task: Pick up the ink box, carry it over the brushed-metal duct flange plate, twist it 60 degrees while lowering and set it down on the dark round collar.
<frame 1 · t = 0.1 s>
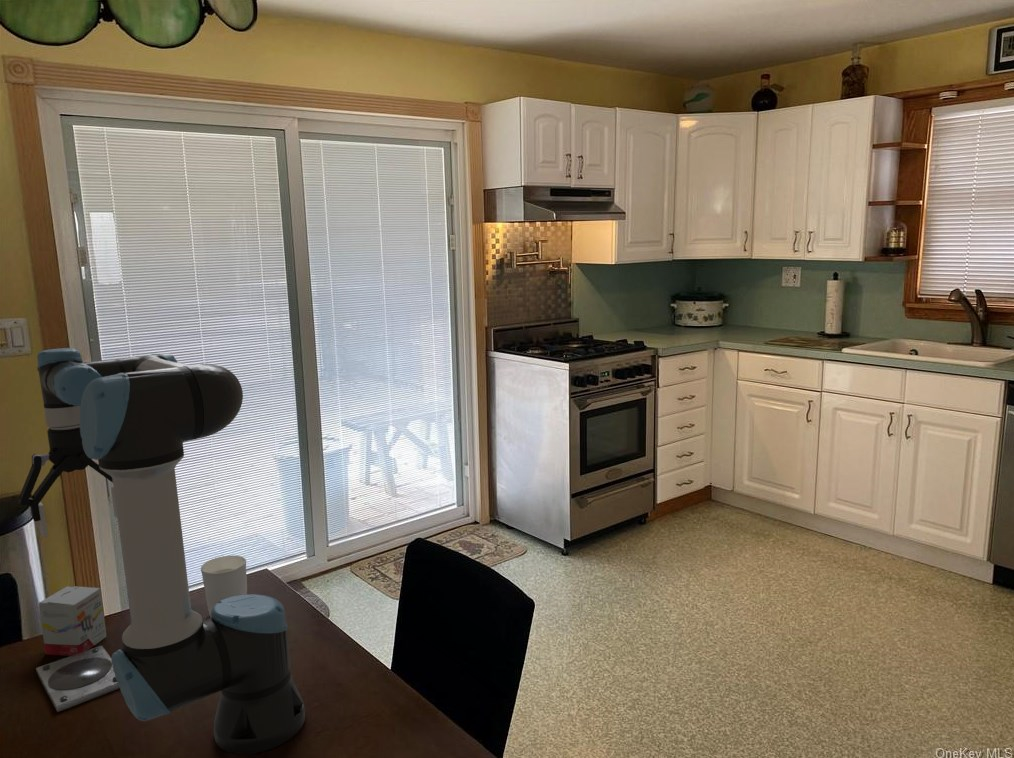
hand: (82, 525, 151), 28 cm above the table, fingers open, 13 cm apart
ink box: (77, 646, 159), on the table
duct flange: (81, 679, 146), on the table
candle holder: (228, 613, 171), on the table
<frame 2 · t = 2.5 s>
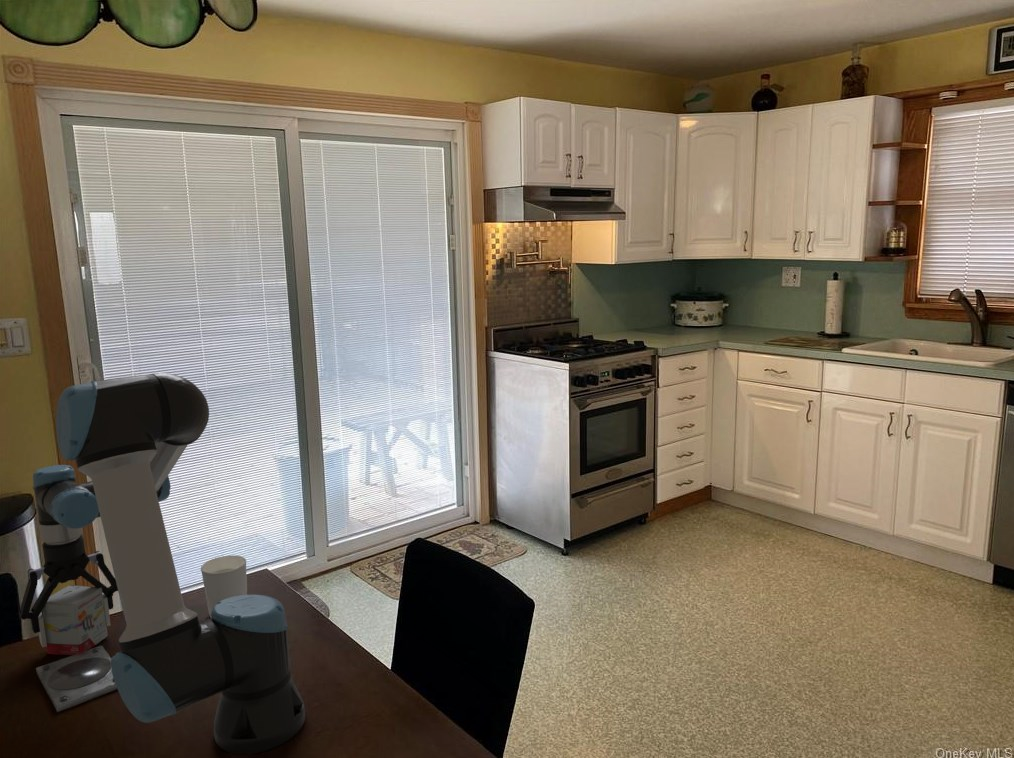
hand: (76, 634, 159), 2 cm above the table, fingers closed on ink box, 11 cm apart
ink box: (78, 645, 159), on the table, touching gripper
everything else where it was.
when the fingers open (5 cm above the table, at t = 7.6 s): ink box drops 1 cm, resting on duct flange.
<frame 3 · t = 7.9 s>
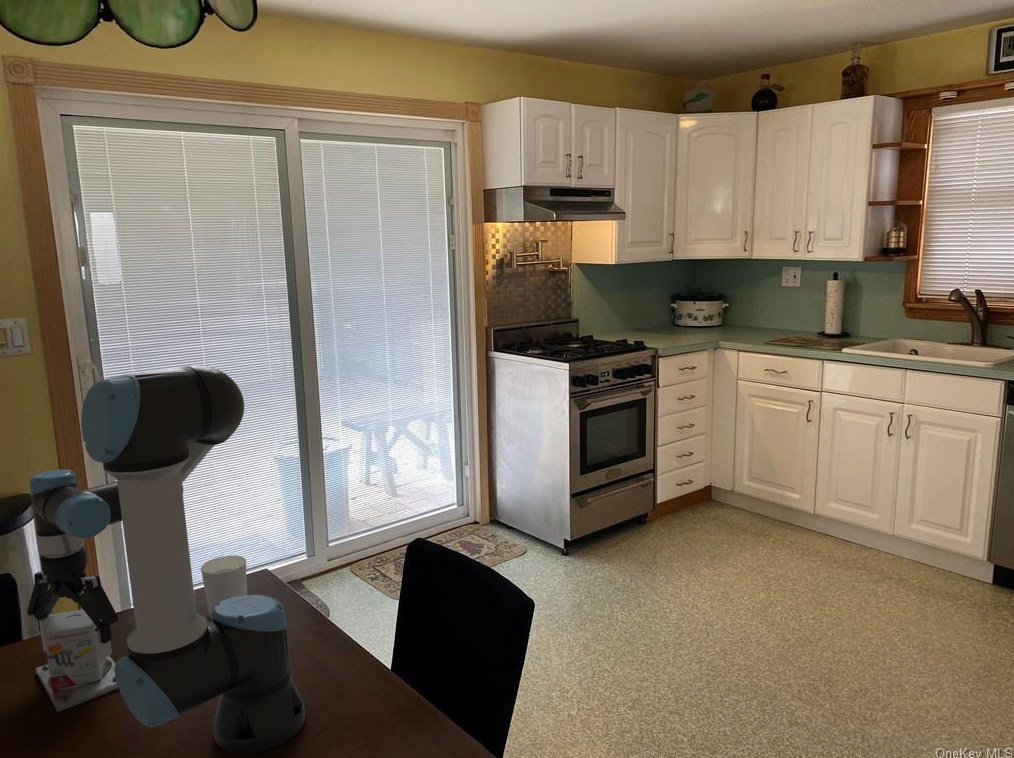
hand: (77, 652, 145), 6 cm above the table, fingers open, 13 cm apart
ink box: (80, 675, 145), point 1 cm above the table, touching duct flange
everything else where it was.
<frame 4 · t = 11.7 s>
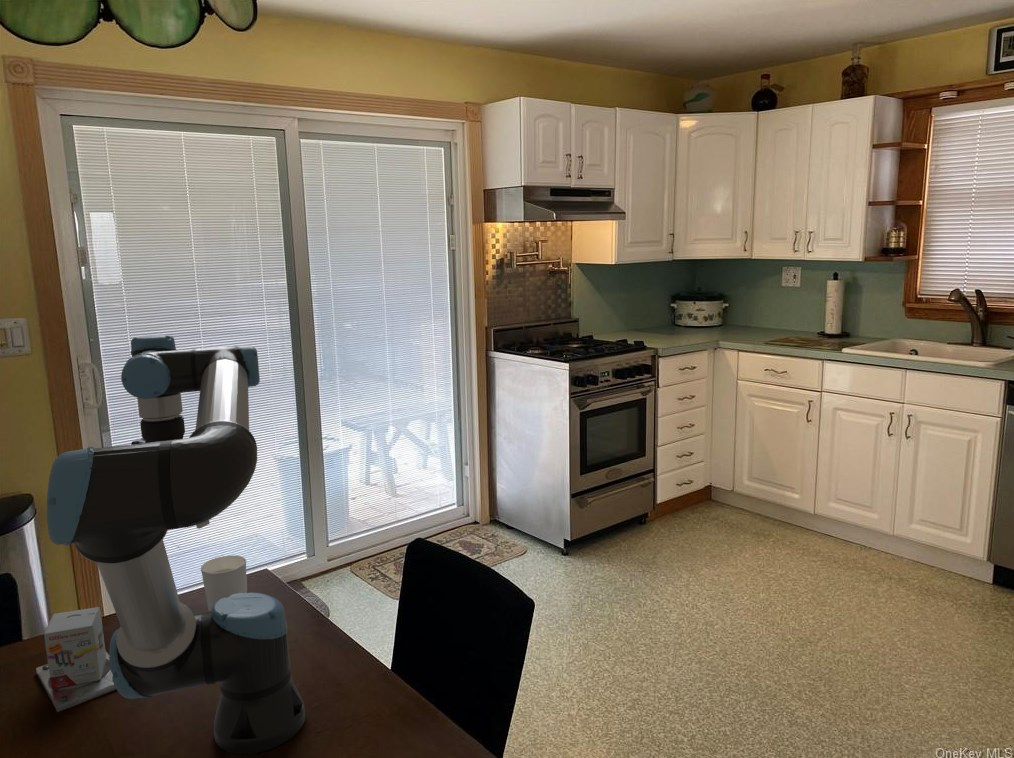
hand: (174, 523, 143), 31 cm above the table, fingers open, 13 cm apart
nothing on the table moved.
at the end: ink box inside the target area on the duct flange (0.5 cm from its centre), point 1.2 cm above the duct flange's base; ink box tilted 0°; the gripper is holding nothing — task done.
